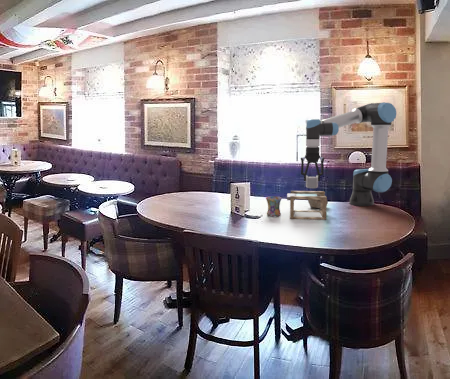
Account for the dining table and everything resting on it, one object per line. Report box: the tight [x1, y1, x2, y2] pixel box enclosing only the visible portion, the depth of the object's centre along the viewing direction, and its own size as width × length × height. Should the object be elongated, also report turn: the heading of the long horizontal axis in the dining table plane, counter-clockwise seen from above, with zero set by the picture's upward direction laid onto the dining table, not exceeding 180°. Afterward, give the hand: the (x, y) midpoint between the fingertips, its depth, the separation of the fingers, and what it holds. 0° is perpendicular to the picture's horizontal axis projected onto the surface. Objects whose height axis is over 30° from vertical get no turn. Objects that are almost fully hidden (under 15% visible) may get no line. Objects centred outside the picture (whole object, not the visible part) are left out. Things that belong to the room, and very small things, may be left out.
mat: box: [294, 212, 322, 217], centre depth 236 cm, size 15×13×1 cm
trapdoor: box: [286, 192, 317, 201], centre depth 235 cm, size 17×14×2 cm
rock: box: [307, 194, 329, 209], centre depth 257 cm, size 14×10×8 cm
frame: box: [289, 190, 328, 221], centre depth 235 cm, size 20×18×13 cm
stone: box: [306, 176, 318, 189], centre depth 232 cm, size 5×5×6 cm
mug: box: [265, 195, 282, 217], centre depth 239 cm, size 12×9×11 cm
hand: (311, 186), depth 233 cm, fingers closed on stone, 5 cm apart
